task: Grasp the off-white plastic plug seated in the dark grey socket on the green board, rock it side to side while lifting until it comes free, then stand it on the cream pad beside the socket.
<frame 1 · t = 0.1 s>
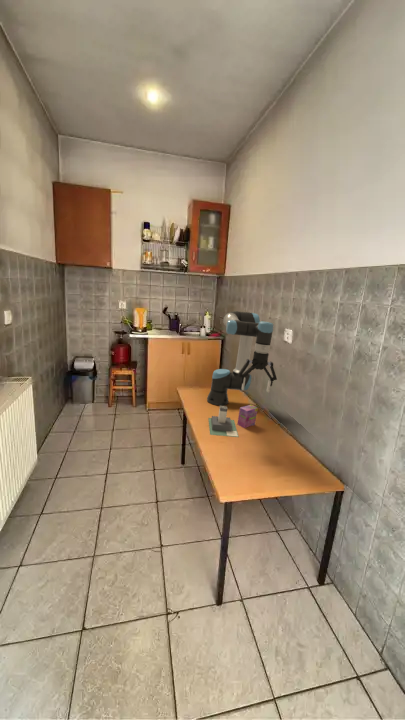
hand: (255, 390, 159), 28 cm above the table, fingers open, 13 cm apart
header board: (222, 428, 173), on the table
plug: (220, 426, 173), point 1 cm above the table, touching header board
box: (246, 425, 180), on the table
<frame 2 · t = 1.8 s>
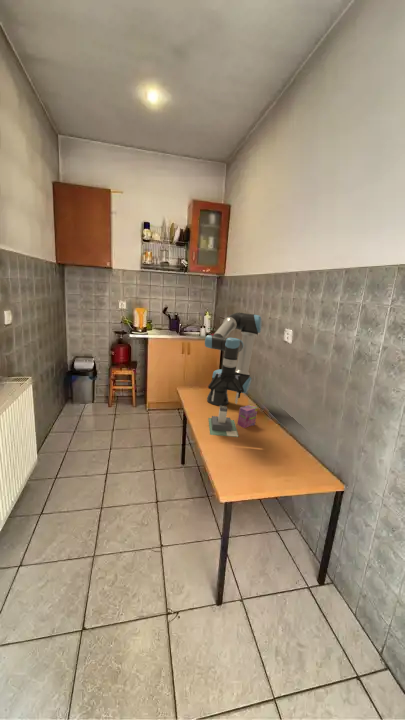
hand: (224, 401, 169), 16 cm above the table, fingers open, 13 cm apart
nothing on the table moved.
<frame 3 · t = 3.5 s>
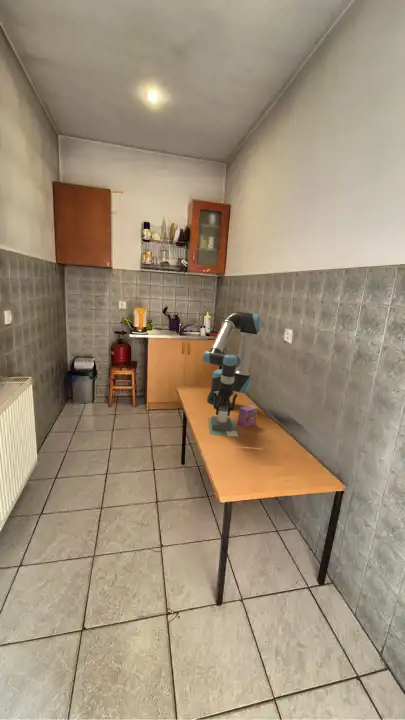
hand: (221, 420, 172), 5 cm above the table, fingers closed on plug, 4 cm apart
plug: (220, 426, 173), point 1 cm above the table, touching gripper, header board
everything else where it was.
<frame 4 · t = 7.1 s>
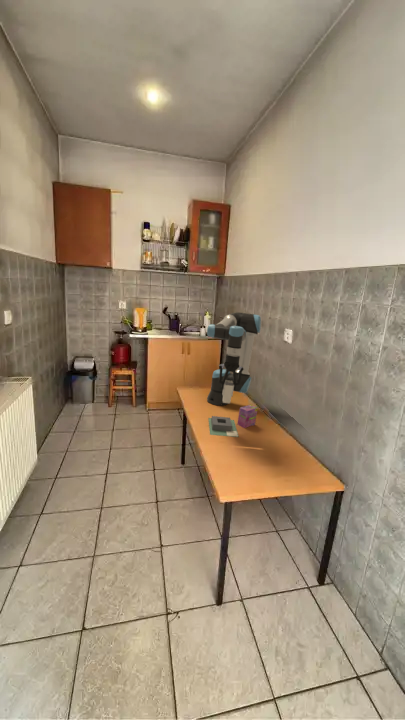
hand: (227, 395, 167), 21 cm above the table, fingers closed on plug, 4 cm apart
plug: (226, 401, 168), point 17 cm above the table, touching gripper
everything else where it was.
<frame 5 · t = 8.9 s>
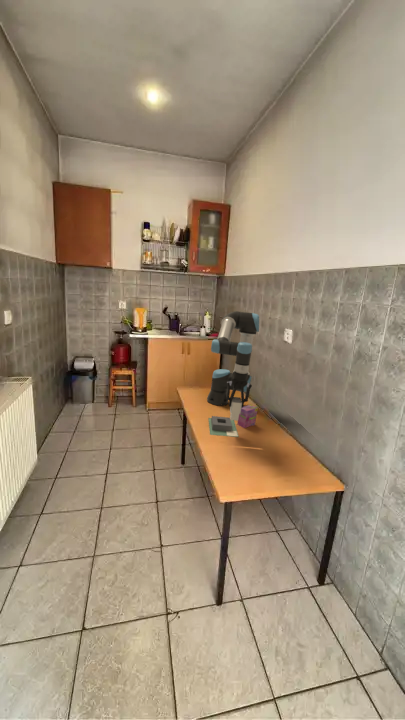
hand: (235, 412, 163), 14 cm above the table, fingers closed on plug, 4 cm apart
plug: (233, 418, 164), point 10 cm above the table, touching gripper
everything else where it was.
when the fingers open (6 cm above the table, at t = 10.6 s): plug stays where it is, resting on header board.
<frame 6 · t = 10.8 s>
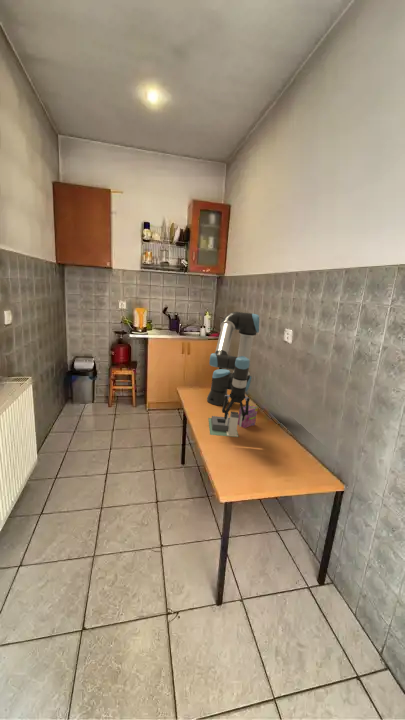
hand: (233, 424, 165), 6 cm above the table, fingers open, 7 cm apart
plug: (231, 433, 166), point 1 cm above the table, touching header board
everything else where it was.
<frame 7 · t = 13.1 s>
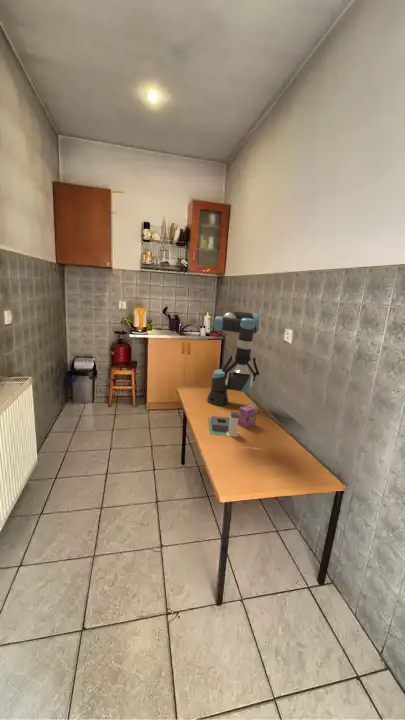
hand: (238, 385, 163), 28 cm above the table, fingers open, 13 cm apart
nothing on the table moved.
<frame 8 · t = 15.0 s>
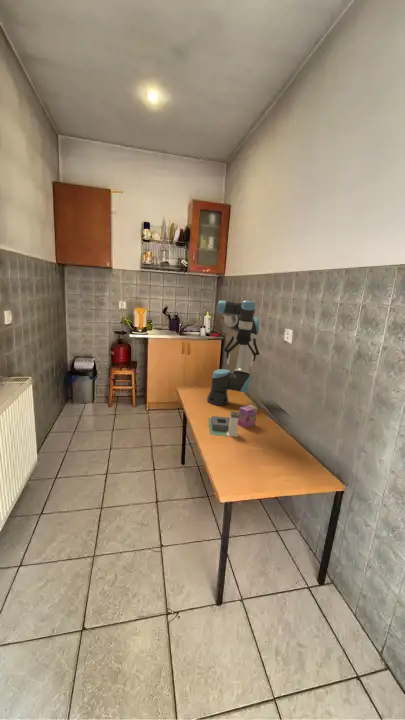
hand: (239, 364, 173), 37 cm above the table, fingers open, 13 cm apart
nothing on the table moved.
at the end: plug 0.2 cm from the target spot on the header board, point 1.0 cm above the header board's base; plug tilted 0°; the gripper is holding nothing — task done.
